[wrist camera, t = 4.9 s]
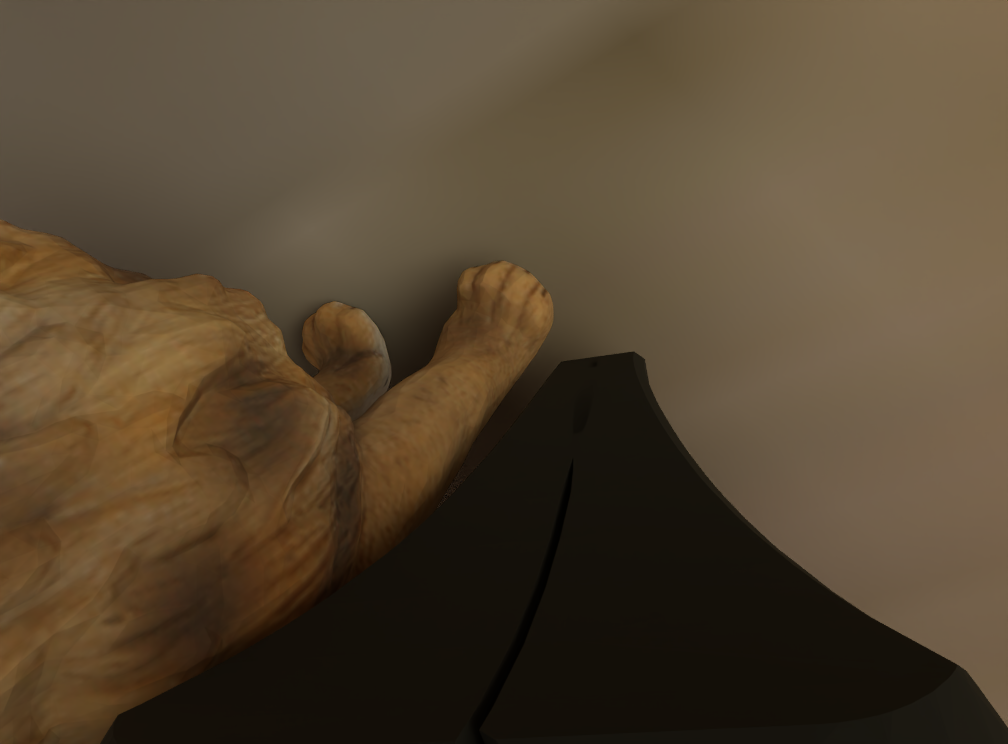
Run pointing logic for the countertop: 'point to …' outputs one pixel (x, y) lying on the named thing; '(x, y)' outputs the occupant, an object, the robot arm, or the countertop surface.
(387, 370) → the lion figurine
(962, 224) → the countertop surface
